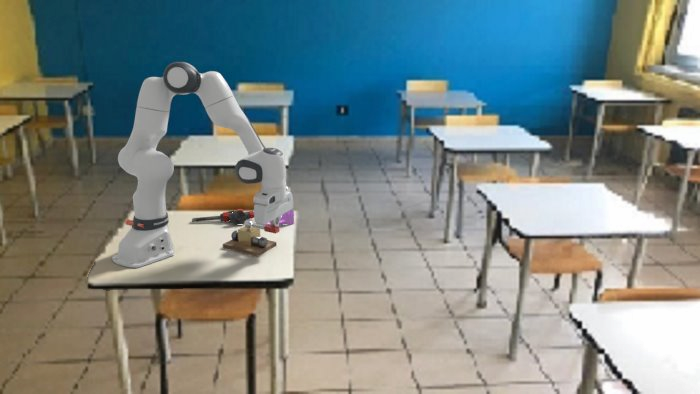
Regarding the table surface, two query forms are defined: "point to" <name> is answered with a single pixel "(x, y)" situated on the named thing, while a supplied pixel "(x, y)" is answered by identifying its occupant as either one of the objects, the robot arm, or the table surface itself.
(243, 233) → the ball valve
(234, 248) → the walnut board
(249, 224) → the valve lever
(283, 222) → the bracket
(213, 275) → the table surface
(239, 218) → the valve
